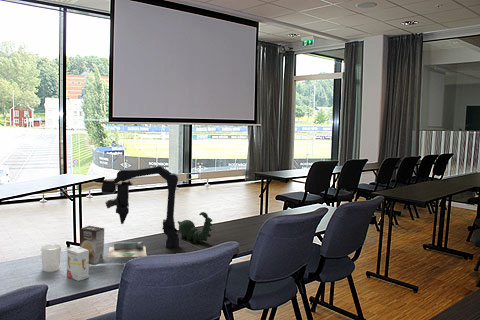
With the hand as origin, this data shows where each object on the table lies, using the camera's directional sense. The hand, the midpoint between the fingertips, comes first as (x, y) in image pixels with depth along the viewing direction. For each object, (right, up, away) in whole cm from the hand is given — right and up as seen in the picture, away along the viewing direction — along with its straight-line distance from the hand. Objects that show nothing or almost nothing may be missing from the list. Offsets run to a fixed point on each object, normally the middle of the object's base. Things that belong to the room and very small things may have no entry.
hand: (122, 223), depth 212 cm
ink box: (-7, -16, -42) cm, 45 cm away
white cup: (-21, -15, -35) cm, 43 cm away
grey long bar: (+5, -12, -4) cm, 14 cm away
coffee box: (-8, -15, -23) cm, 28 cm away
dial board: (+5, -14, -8) cm, 17 cm away
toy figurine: (+34, -13, +21) cm, 42 cm away
